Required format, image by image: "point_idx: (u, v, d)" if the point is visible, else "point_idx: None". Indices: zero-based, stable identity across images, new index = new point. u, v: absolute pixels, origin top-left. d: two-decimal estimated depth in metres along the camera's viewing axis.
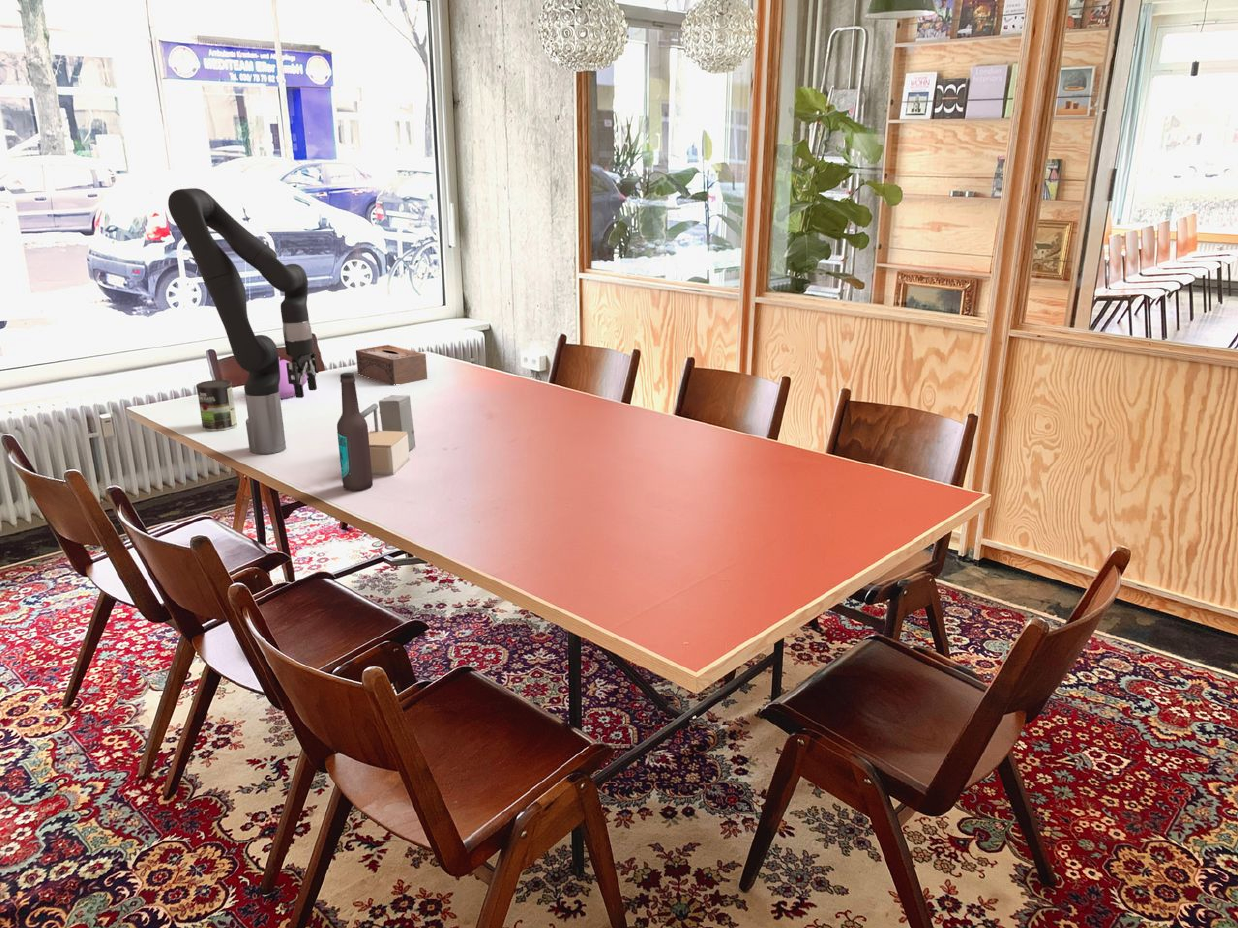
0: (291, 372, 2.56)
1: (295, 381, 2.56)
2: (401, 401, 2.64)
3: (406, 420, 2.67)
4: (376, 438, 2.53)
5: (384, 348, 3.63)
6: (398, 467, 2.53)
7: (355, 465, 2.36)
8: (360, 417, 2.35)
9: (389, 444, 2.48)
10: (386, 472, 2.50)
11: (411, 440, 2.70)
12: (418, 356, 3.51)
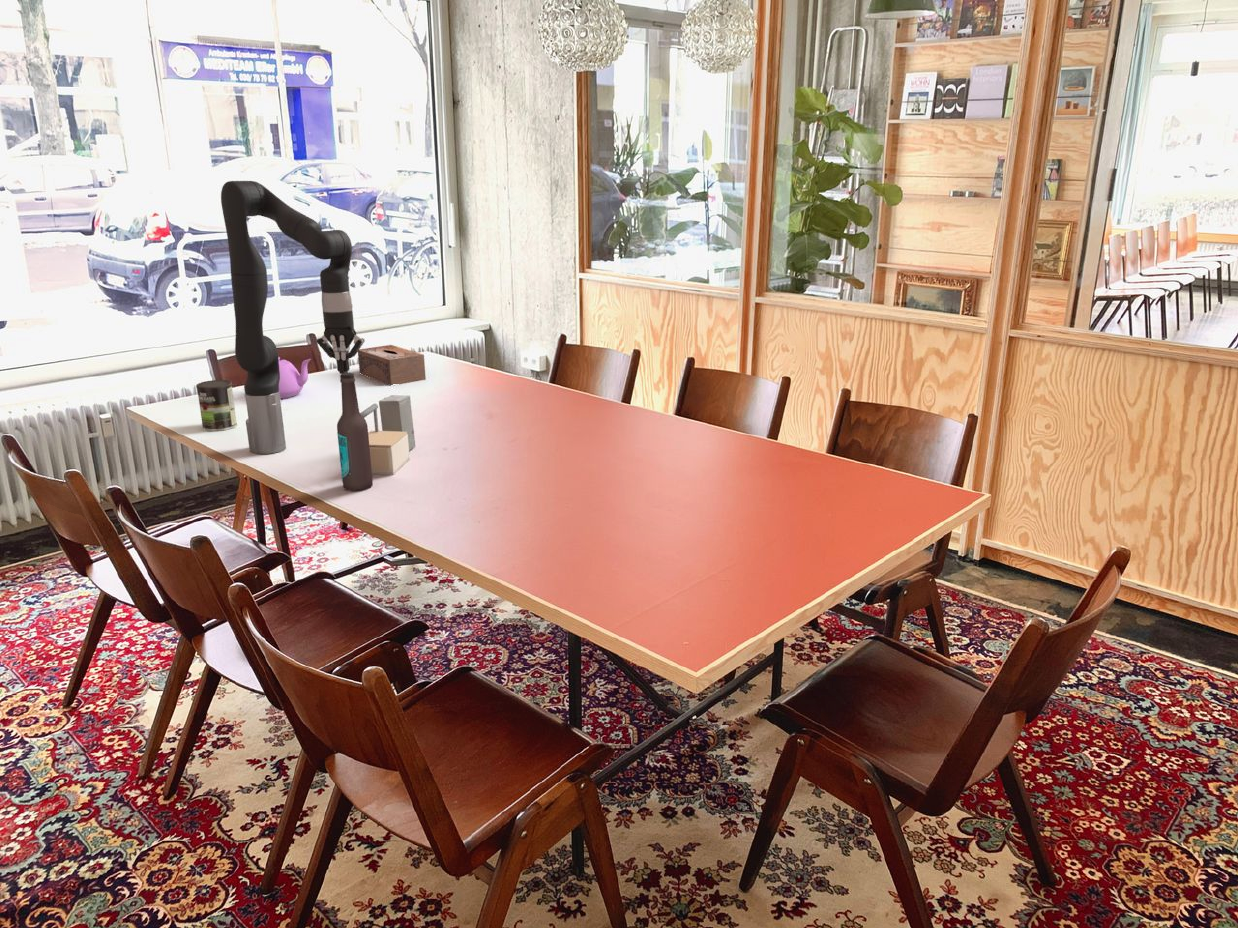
0: (358, 348, 2.47)
1: (354, 355, 2.48)
2: (401, 401, 2.64)
3: (406, 420, 2.67)
4: (376, 438, 2.53)
5: (386, 348, 3.64)
6: (398, 467, 2.53)
7: (355, 465, 2.36)
8: (360, 417, 2.35)
9: (389, 444, 2.48)
10: (386, 472, 2.50)
11: (411, 440, 2.70)
12: (416, 356, 3.50)
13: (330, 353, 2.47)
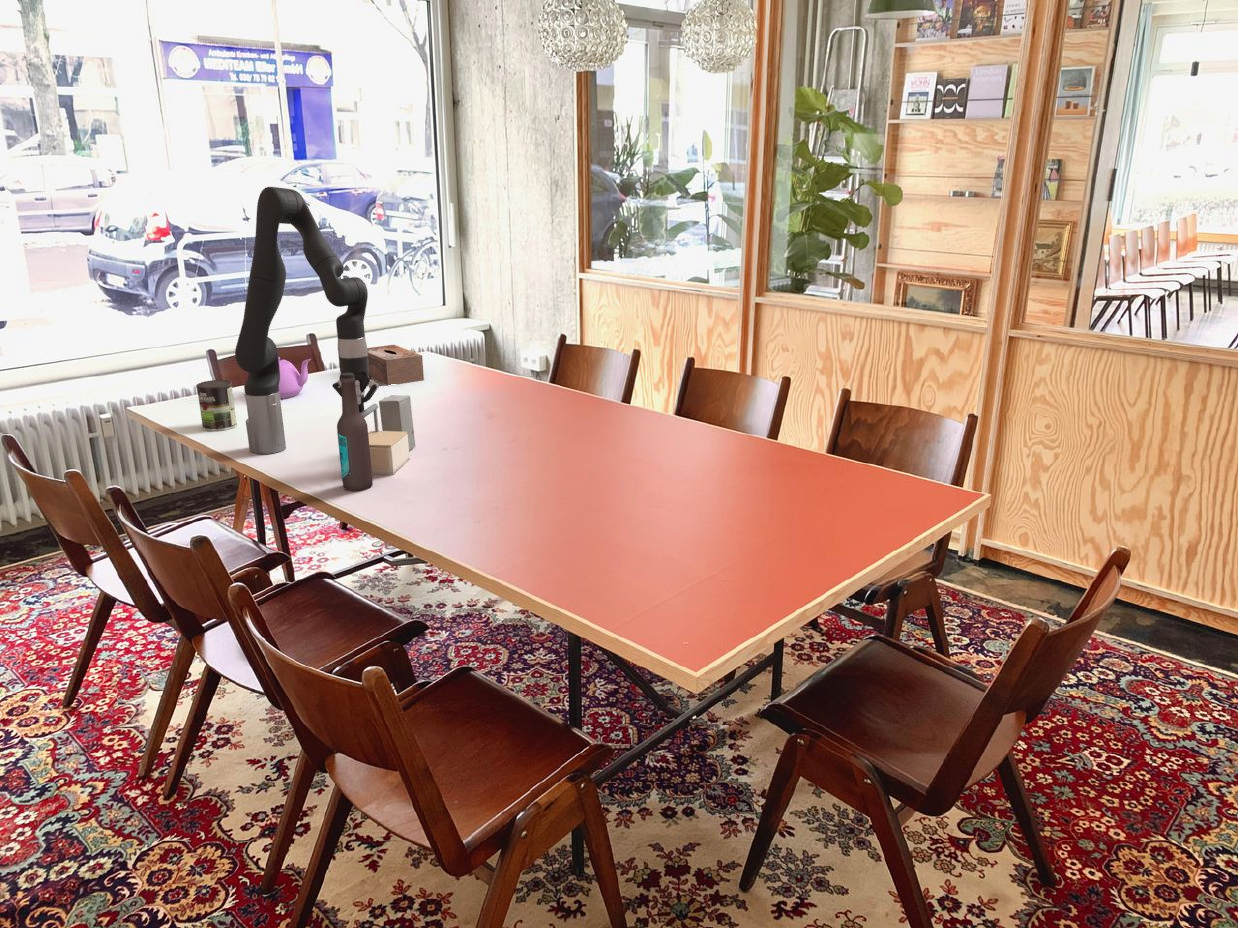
0: (373, 392, 2.50)
1: (369, 399, 2.52)
2: (401, 401, 2.64)
3: (406, 420, 2.67)
4: (376, 438, 2.53)
5: (388, 348, 3.64)
6: (398, 467, 2.53)
7: (355, 465, 2.36)
8: (360, 417, 2.35)
9: (389, 444, 2.48)
10: (386, 472, 2.50)
11: (411, 440, 2.70)
12: (414, 357, 3.49)
13: None
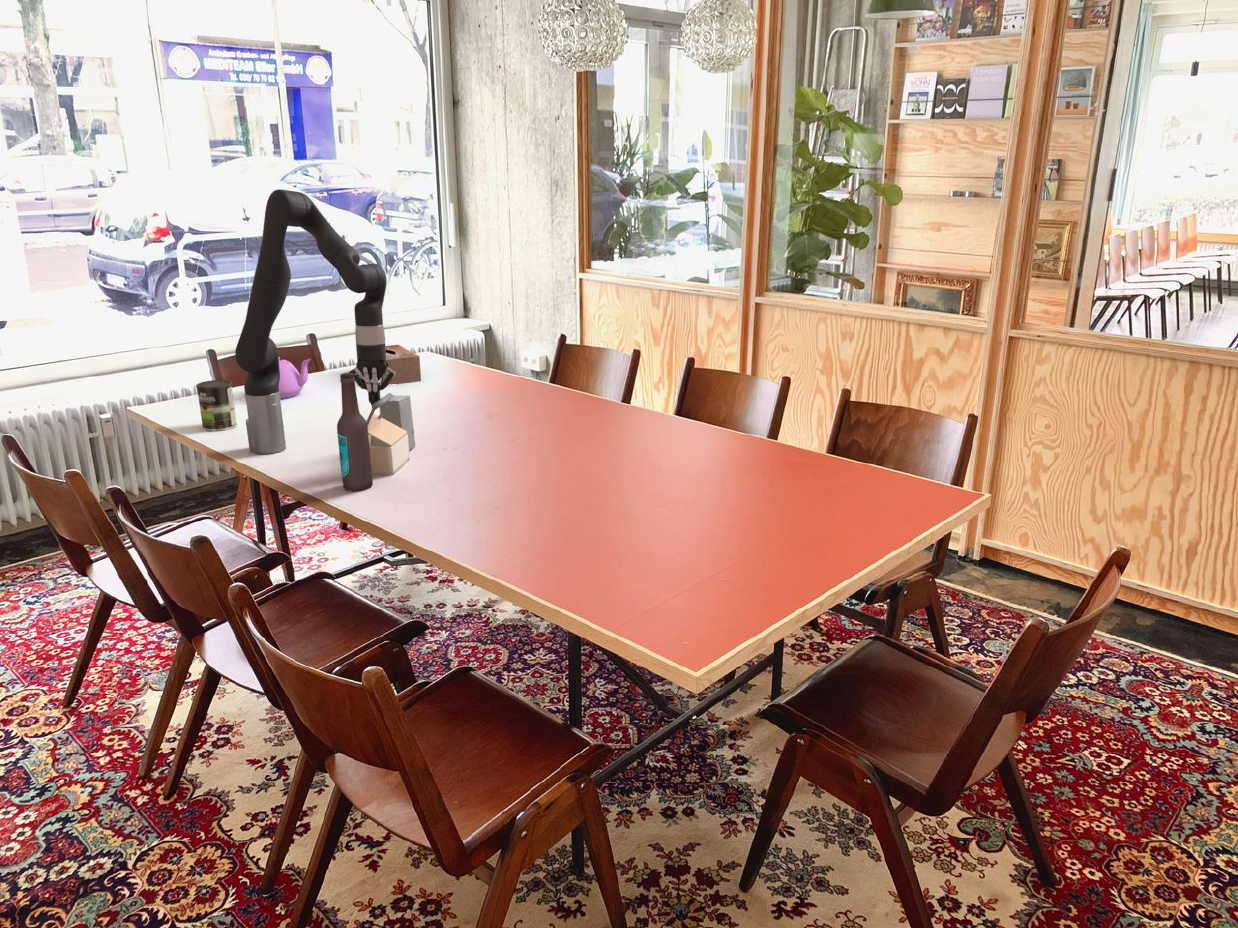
0: (390, 380, 2.48)
1: (386, 386, 2.50)
2: (401, 401, 2.64)
3: (406, 420, 2.67)
4: (378, 428, 2.52)
5: (390, 348, 3.64)
6: (398, 467, 2.53)
7: (355, 465, 2.36)
8: (360, 417, 2.35)
9: (390, 443, 2.48)
10: (386, 472, 2.50)
11: (411, 440, 2.70)
12: (411, 358, 3.48)
13: (362, 385, 2.48)
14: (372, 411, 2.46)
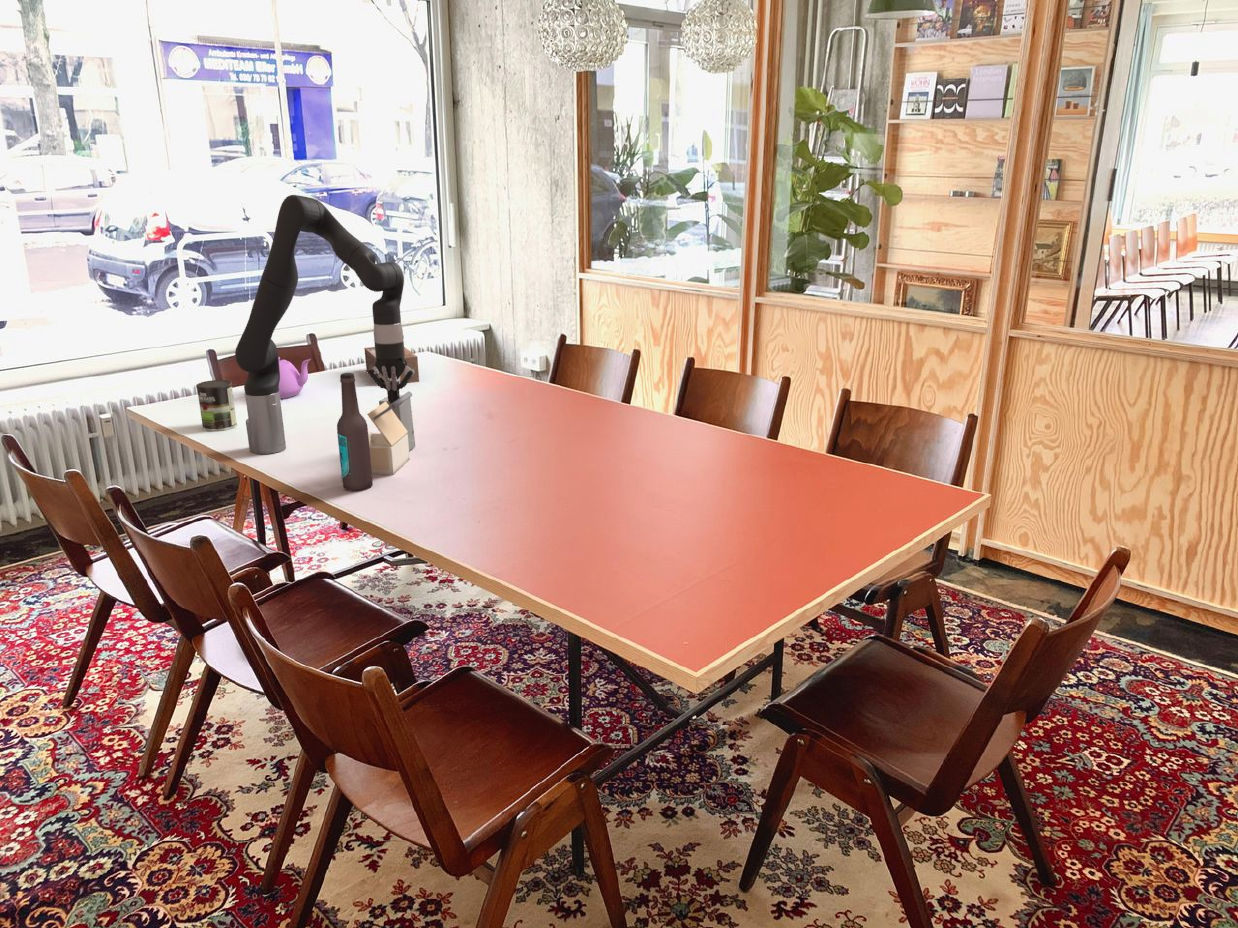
0: (409, 379, 2.48)
1: (405, 385, 2.49)
2: None
3: (406, 420, 2.67)
4: (385, 420, 2.51)
5: None
6: (398, 467, 2.53)
7: (355, 465, 2.36)
8: (360, 417, 2.35)
9: (391, 442, 2.48)
10: (386, 472, 2.50)
11: (411, 440, 2.70)
12: (408, 358, 3.47)
13: (381, 384, 2.48)
14: (390, 408, 2.45)
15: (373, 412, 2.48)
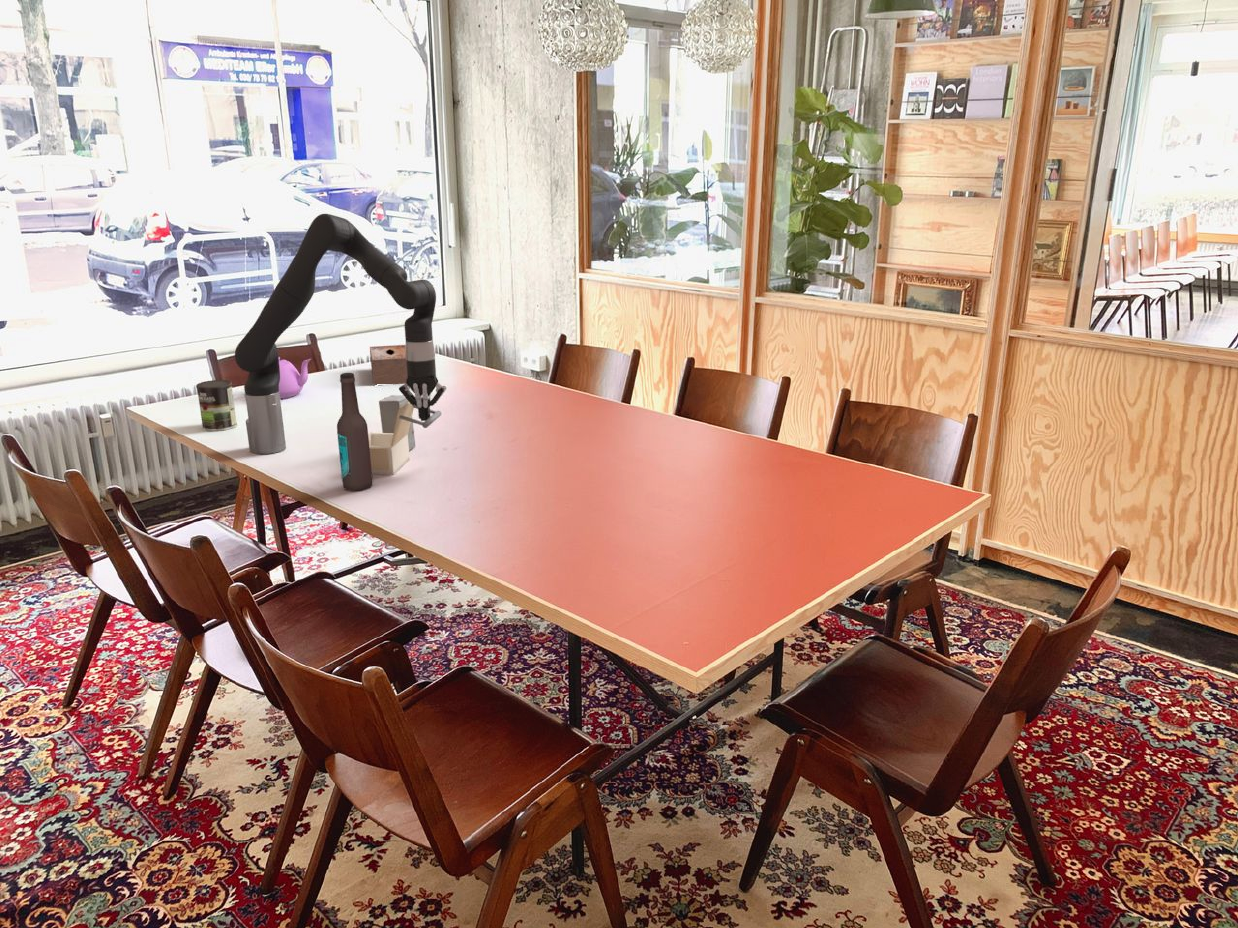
0: (440, 396, 2.48)
1: None
2: (401, 401, 2.64)
3: None
4: None
5: (395, 347, 3.64)
6: (398, 467, 2.53)
7: (355, 465, 2.36)
8: (360, 417, 2.35)
9: (393, 443, 2.48)
10: (386, 472, 2.50)
11: (411, 440, 2.70)
12: (403, 359, 3.46)
13: (412, 401, 2.48)
14: (419, 423, 2.45)
15: (403, 409, 2.47)
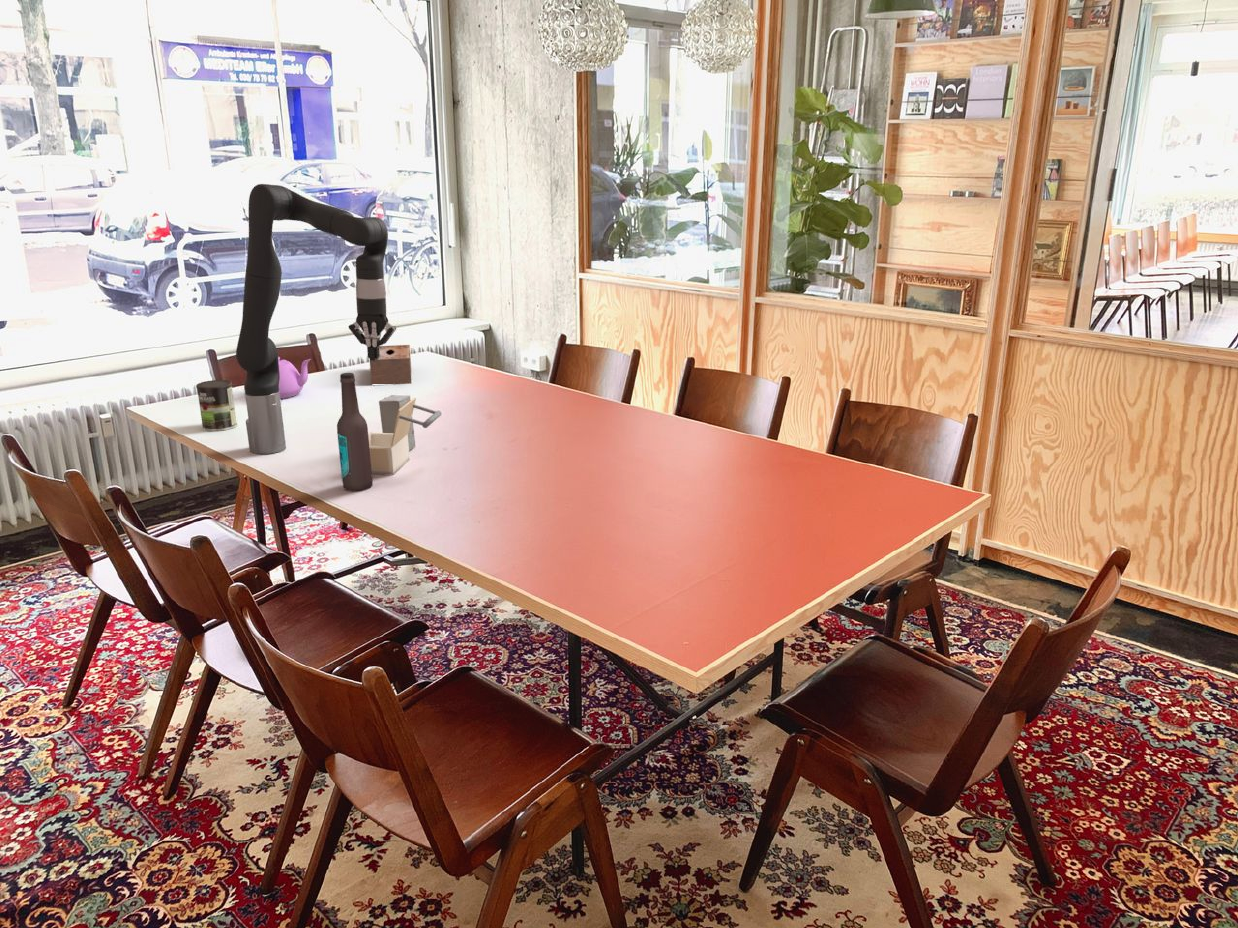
0: (389, 336, 2.48)
1: (385, 342, 2.49)
2: (401, 401, 2.64)
3: None
4: None
5: (396, 347, 3.64)
6: (398, 467, 2.53)
7: (355, 465, 2.36)
8: (360, 417, 2.35)
9: (393, 443, 2.48)
10: (386, 472, 2.50)
11: (411, 440, 2.70)
12: (400, 359, 3.45)
13: (361, 339, 2.48)
14: (419, 423, 2.45)
15: (403, 409, 2.47)
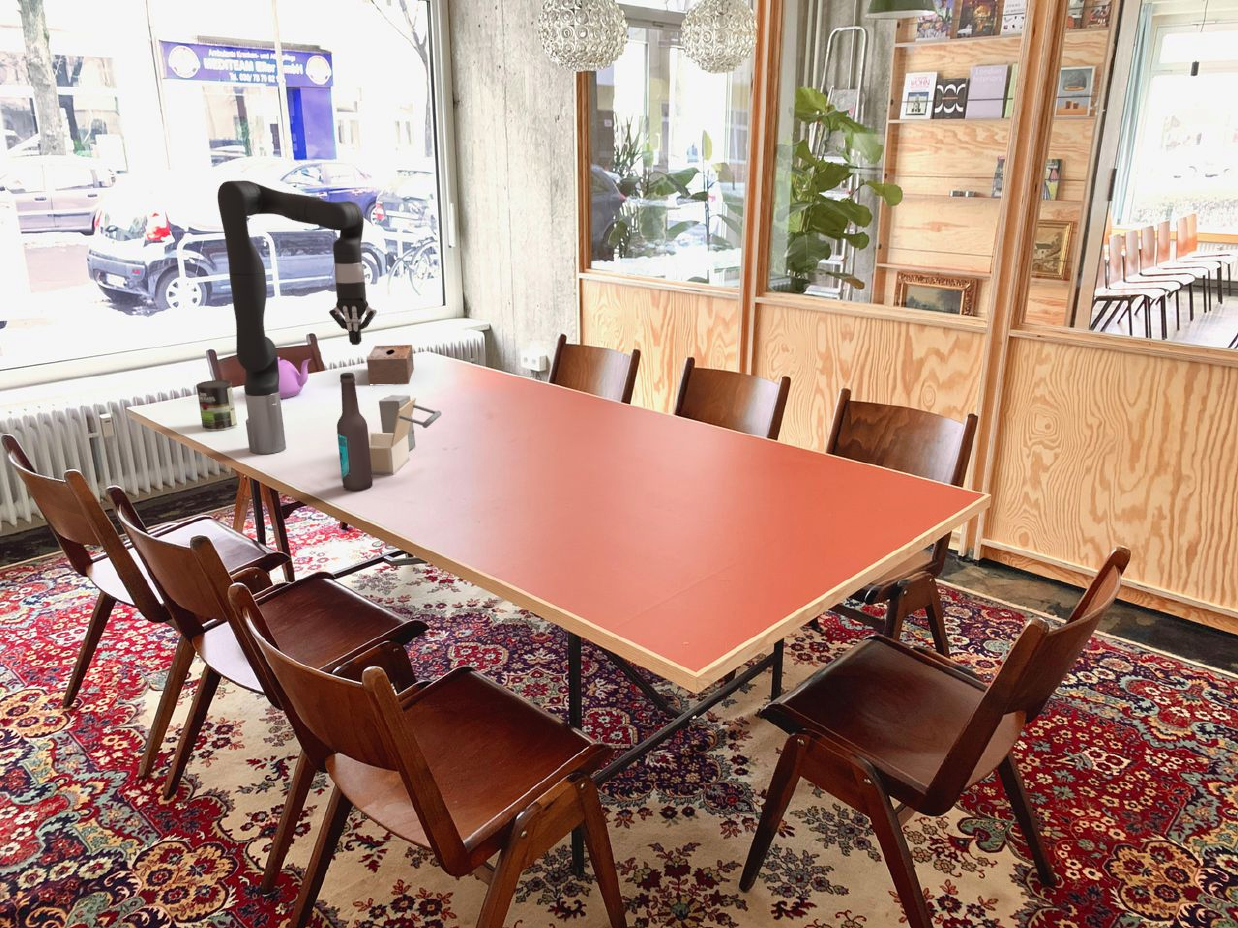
0: (370, 319, 2.49)
1: (366, 326, 2.51)
2: (401, 401, 2.64)
3: None
4: None
5: (398, 347, 3.64)
6: (398, 467, 2.53)
7: (355, 465, 2.36)
8: (360, 417, 2.35)
9: (393, 443, 2.48)
10: (386, 472, 2.50)
11: (411, 440, 2.70)
12: (397, 359, 3.45)
13: (342, 324, 2.49)
14: (419, 423, 2.45)
15: (403, 409, 2.47)
